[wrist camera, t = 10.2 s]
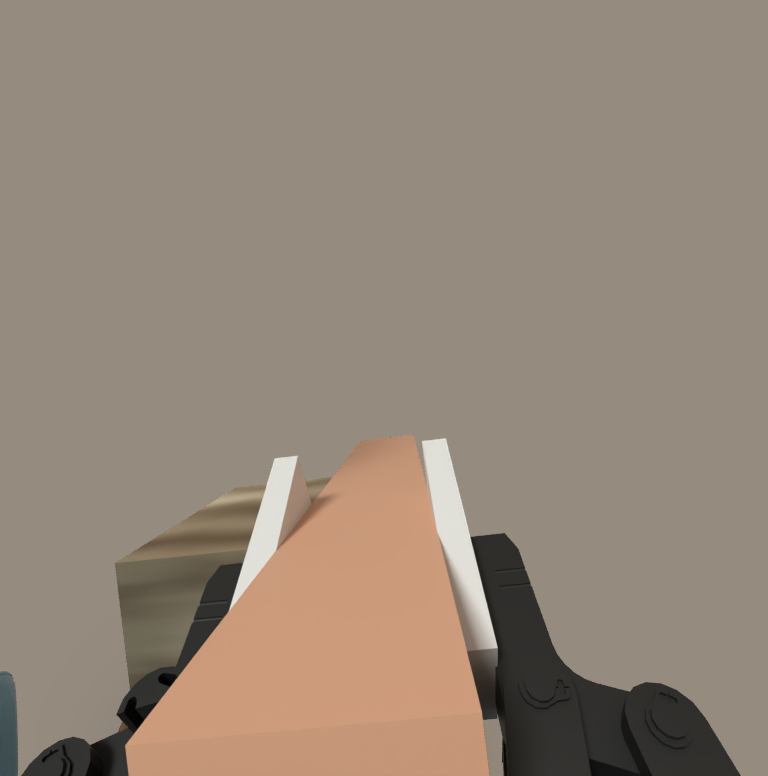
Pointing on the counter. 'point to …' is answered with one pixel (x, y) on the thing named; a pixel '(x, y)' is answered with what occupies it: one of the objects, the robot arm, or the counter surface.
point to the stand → (182, 575)
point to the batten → (333, 649)
